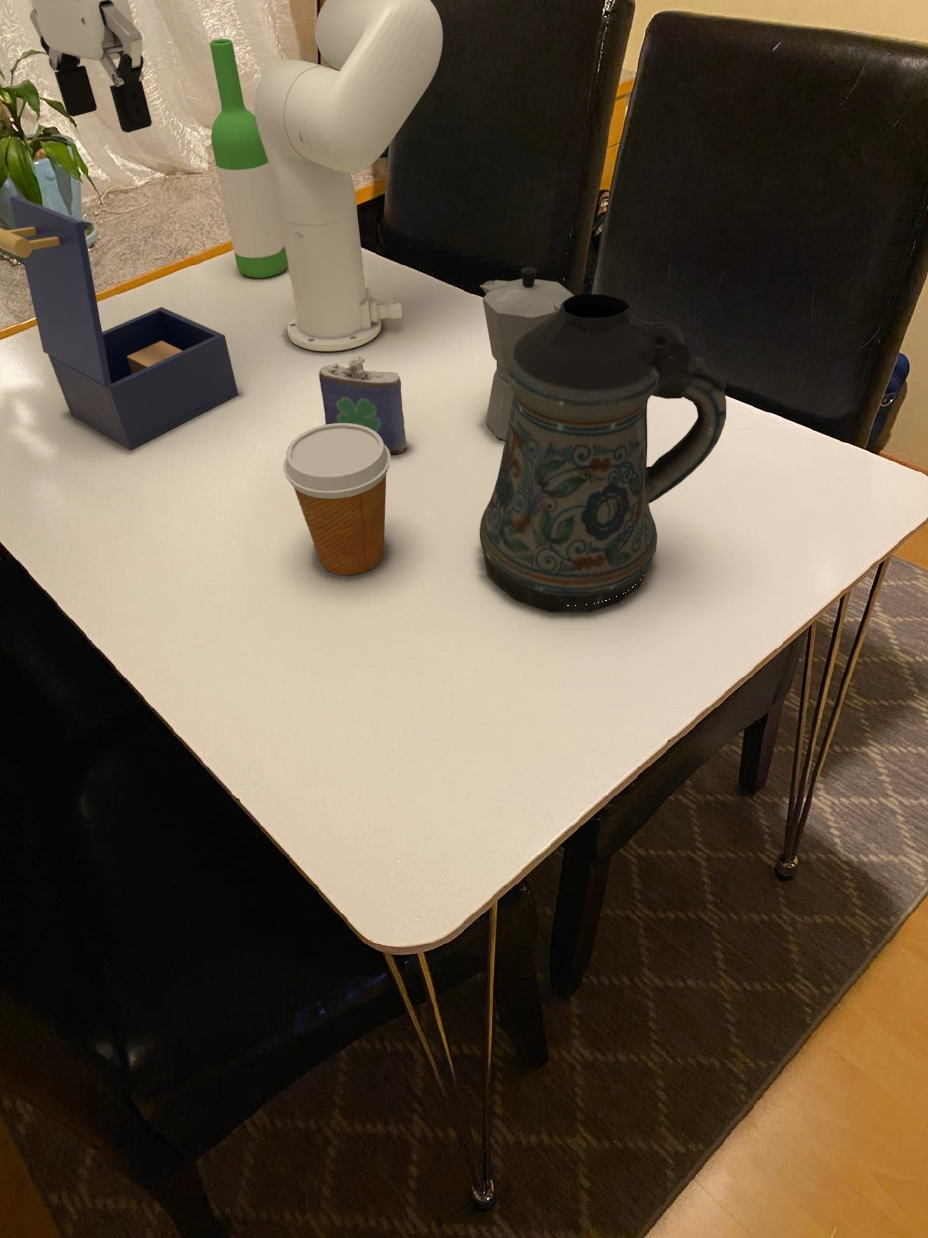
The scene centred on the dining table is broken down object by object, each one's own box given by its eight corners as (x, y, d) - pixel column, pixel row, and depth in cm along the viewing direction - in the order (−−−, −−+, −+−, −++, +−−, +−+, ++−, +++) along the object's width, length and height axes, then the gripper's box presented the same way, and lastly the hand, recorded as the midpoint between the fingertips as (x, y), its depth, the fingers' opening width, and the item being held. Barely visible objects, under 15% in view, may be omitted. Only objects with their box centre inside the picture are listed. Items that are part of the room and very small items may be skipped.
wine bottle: (296, 260, 139) (260, 34, 119) (278, 281, 134) (236, 48, 113) (250, 257, 141) (206, 33, 120) (230, 278, 135) (179, 47, 115)
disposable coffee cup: (304, 528, 90) (283, 424, 82) (399, 520, 91) (388, 416, 82) (300, 591, 83) (277, 484, 75) (402, 582, 84) (390, 475, 75)
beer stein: (455, 529, 89) (443, 282, 72) (629, 484, 94) (657, 242, 77) (521, 637, 78) (525, 376, 61) (715, 580, 83) (770, 321, 65)
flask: (409, 444, 101) (401, 356, 93) (401, 458, 99) (392, 369, 91) (333, 434, 103) (319, 347, 95) (323, 448, 101) (308, 361, 93)
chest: (177, 364, 116) (161, 306, 111) (238, 394, 110) (224, 334, 105) (70, 414, 108) (47, 354, 103) (130, 450, 102) (109, 388, 96)
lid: (16, 195, 93) (-38, 202, 89) (83, 221, 87) (27, 230, 83) (49, 350, 103) (1, 361, 99) (111, 383, 96) (62, 397, 93)
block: (172, 377, 112) (161, 340, 109) (196, 390, 110) (186, 352, 106) (138, 394, 109) (126, 356, 106) (162, 407, 107) (151, 368, 104)
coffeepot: (456, 419, 104) (449, 265, 92) (511, 388, 109) (511, 237, 96) (558, 470, 96) (566, 308, 84) (612, 434, 101) (627, 276, 88)
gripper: (142, -97, 76) (192, 125, 88) (36, -105, 85) (94, 99, 97) (64, -86, 72) (126, 145, 84) (-39, -95, 81) (31, 116, 93)
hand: (109, 120), depth 90 cm, fingers open, 9 cm apart
